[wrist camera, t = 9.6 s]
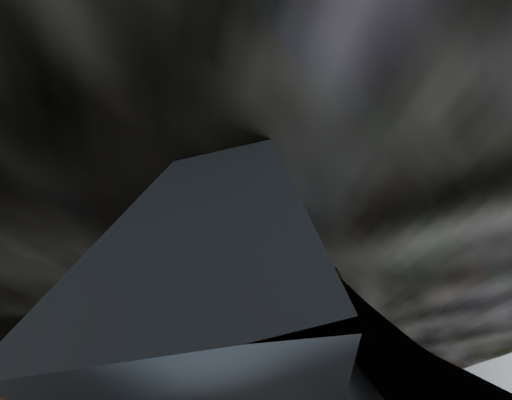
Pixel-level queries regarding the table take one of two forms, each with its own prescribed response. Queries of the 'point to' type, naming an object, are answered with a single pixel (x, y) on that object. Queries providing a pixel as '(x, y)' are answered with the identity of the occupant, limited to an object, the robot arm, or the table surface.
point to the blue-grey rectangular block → (194, 298)
